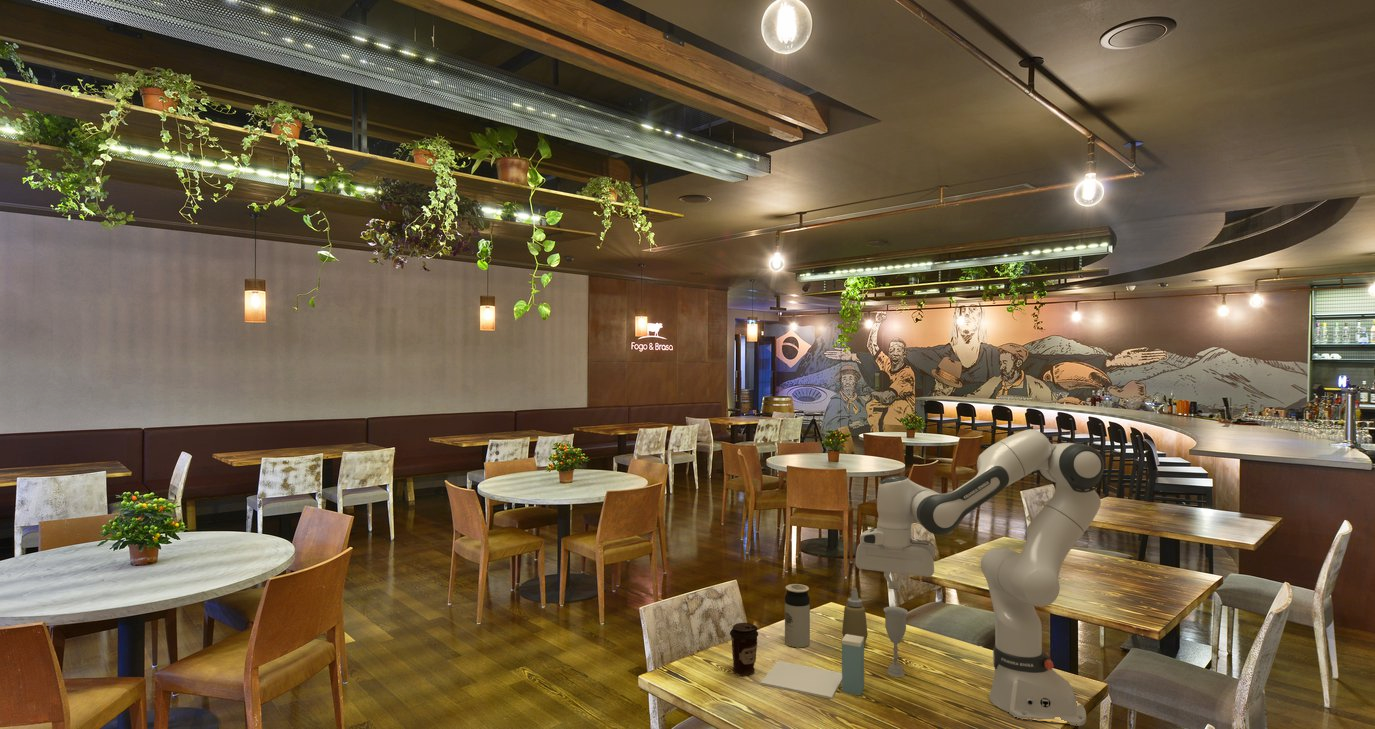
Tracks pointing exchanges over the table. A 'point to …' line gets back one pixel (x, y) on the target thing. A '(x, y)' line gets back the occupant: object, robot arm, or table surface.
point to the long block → (853, 664)
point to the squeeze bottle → (855, 617)
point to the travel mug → (797, 616)
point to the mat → (803, 679)
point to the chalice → (895, 635)
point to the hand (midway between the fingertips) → (894, 588)
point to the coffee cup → (744, 648)
